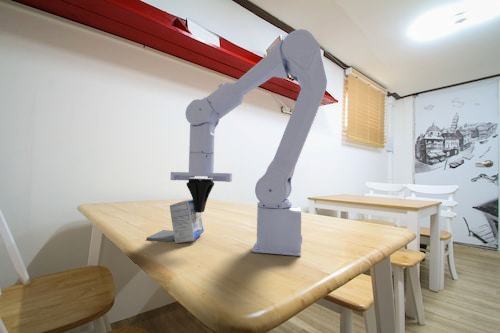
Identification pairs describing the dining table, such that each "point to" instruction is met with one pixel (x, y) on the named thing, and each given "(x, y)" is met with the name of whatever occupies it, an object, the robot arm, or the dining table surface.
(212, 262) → the dining table surface
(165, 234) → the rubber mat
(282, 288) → the dining table surface
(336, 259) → the dining table surface
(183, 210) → the medicine box
